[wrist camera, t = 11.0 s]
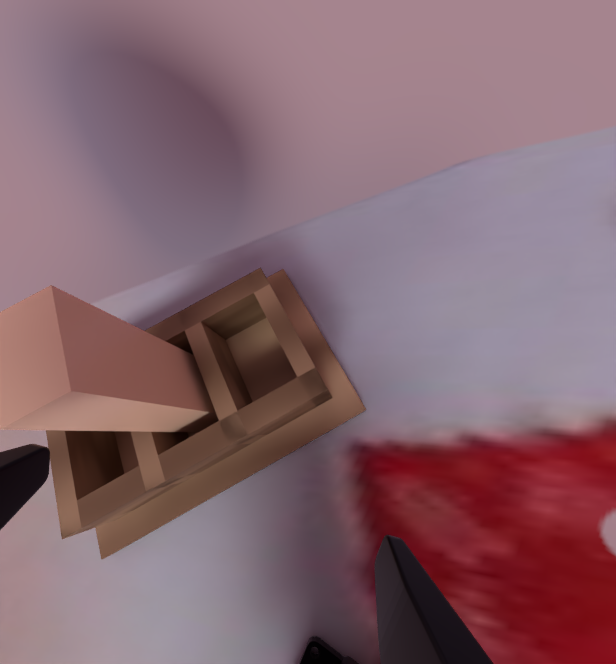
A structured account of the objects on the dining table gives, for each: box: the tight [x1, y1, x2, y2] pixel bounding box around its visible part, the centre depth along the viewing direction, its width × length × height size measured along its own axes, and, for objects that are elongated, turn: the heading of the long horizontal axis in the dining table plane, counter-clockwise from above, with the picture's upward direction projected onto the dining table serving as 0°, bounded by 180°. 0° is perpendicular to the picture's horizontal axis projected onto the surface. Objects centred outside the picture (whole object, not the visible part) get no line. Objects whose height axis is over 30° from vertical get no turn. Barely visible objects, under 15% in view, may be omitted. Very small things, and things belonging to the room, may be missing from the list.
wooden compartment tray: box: [46, 268, 366, 559], centre depth 20 cm, size 13×20×5 cm, turn 118°
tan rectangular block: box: [0, 285, 219, 432], centre depth 16 cm, size 4×2×12 cm, turn 28°
